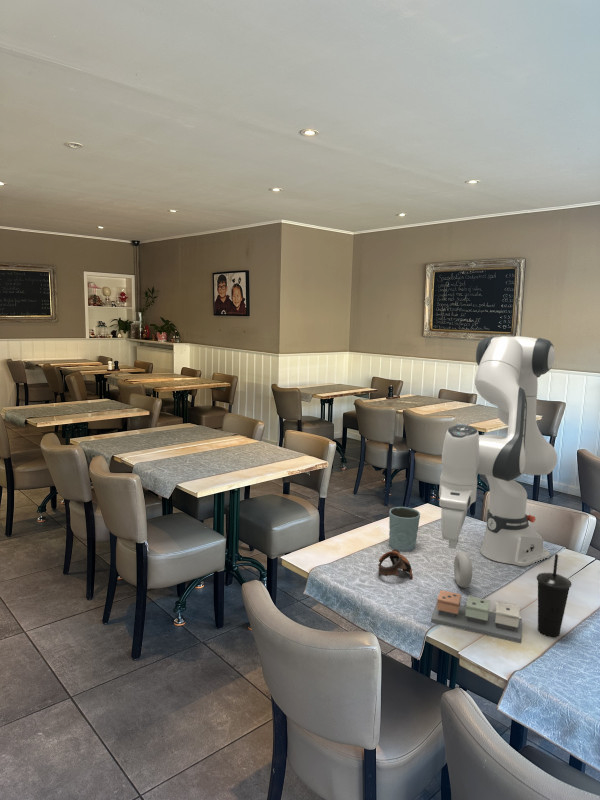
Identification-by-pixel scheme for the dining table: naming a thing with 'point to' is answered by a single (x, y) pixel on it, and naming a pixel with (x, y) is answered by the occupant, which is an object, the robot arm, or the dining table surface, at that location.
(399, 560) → the brown rounded piece
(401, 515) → the green cylindrical pot
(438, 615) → the board
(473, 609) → the sage tile
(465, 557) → the donut
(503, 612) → the cream tile
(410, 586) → the dining table surface
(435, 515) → the dining table surface
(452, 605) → the terracotta tile
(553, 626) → the drinking cup
